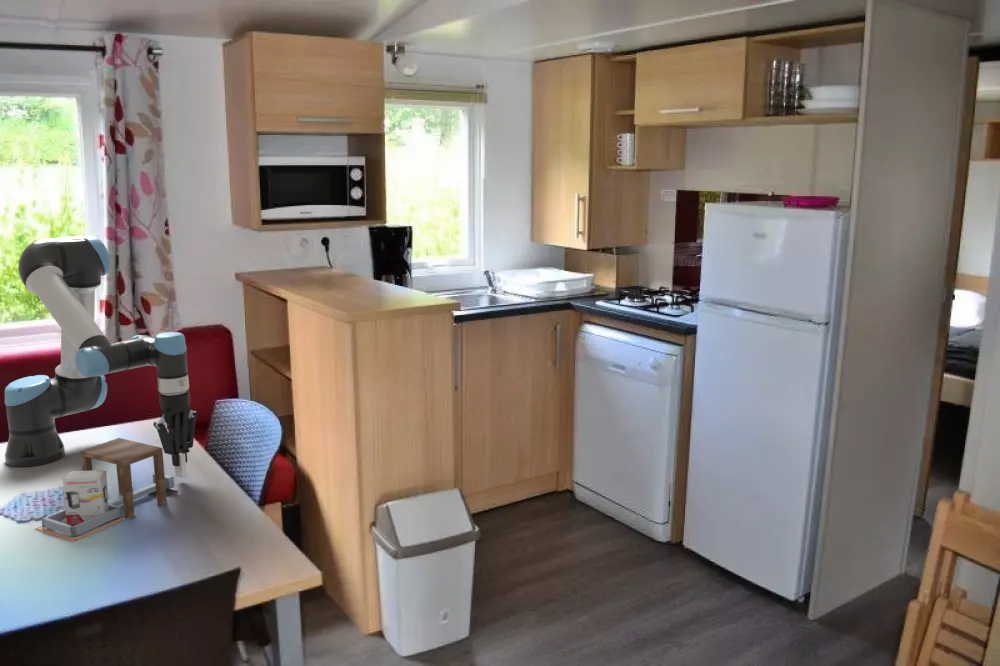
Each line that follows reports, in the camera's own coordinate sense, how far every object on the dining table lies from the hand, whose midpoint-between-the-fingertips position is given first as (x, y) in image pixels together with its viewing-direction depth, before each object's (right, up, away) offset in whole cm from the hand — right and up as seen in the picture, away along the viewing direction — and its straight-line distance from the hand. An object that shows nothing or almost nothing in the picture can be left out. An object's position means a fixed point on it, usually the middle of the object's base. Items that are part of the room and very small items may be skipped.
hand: (181, 475), depth 220 cm
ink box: (-13, -7, -23) cm, 27 cm away
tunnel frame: (-8, -5, -14) cm, 17 cm away
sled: (-10, -5, -17) cm, 20 cm away
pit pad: (-4, -3, -6) cm, 8 cm away
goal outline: (-14, -7, -25) cm, 30 cm away
